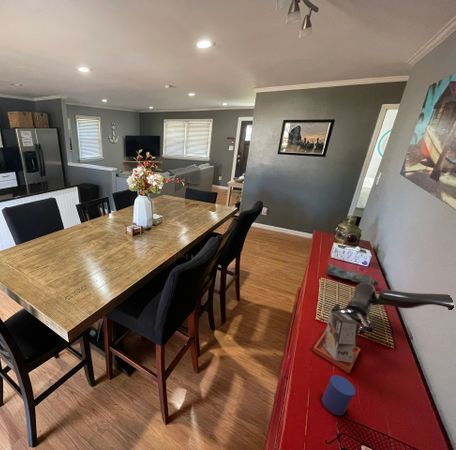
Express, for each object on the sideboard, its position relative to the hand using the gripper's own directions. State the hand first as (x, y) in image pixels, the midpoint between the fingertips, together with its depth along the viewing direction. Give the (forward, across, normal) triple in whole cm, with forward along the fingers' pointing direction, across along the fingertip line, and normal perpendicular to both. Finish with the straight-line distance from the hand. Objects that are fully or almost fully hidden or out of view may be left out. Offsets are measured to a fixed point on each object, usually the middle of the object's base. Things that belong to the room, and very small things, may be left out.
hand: (347, 325), depth 97 cm
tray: (+5, 0, -11) cm, 12 cm away
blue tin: (+30, -6, -11) cm, 32 cm away
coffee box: (+8, -1, -10) cm, 12 cm away
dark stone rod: (-62, +11, -11) cm, 64 cm away
